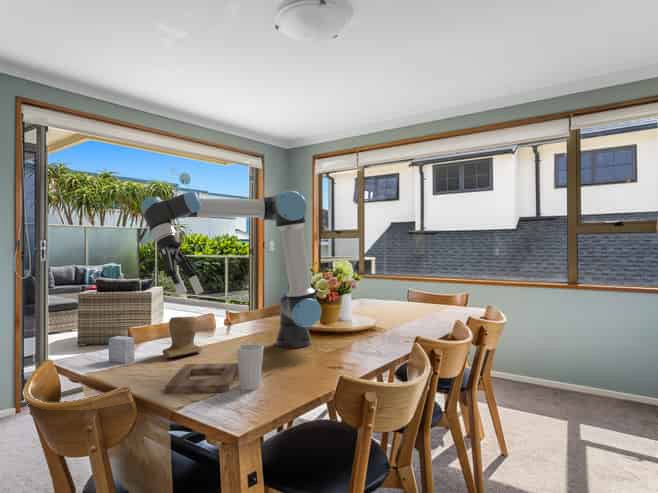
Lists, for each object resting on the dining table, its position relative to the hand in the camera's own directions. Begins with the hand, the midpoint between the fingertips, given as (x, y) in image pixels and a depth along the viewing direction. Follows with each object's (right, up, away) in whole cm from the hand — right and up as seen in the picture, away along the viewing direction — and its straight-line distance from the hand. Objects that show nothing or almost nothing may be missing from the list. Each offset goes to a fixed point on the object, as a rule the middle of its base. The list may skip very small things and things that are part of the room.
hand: (191, 293), depth 140 cm
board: (+7, -27, -9) cm, 29 cm away
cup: (+23, -27, -15) cm, 38 cm away
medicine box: (-29, -27, +11) cm, 41 cm away
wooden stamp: (-11, -27, +20) cm, 35 cm away
